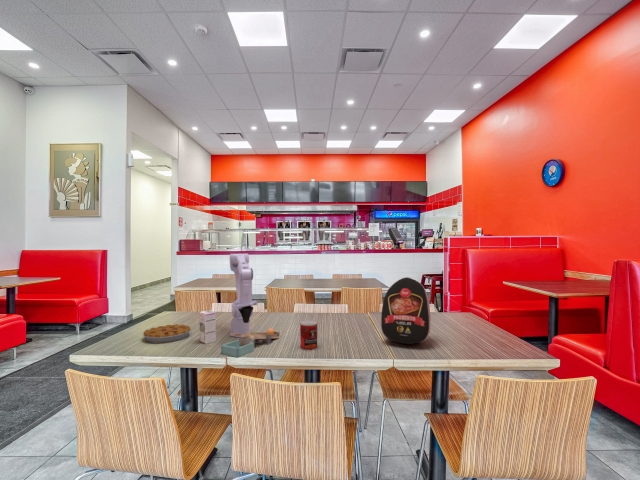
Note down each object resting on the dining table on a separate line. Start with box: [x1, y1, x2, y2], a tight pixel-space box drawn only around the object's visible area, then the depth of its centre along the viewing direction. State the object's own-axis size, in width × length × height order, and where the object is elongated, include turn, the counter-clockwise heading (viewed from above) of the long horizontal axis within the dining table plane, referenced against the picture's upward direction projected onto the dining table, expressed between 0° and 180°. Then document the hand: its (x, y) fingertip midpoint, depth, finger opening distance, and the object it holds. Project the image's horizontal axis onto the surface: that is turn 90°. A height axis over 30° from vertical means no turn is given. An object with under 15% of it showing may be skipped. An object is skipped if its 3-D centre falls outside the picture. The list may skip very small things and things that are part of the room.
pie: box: [142, 323, 192, 344], centre depth 162 cm, size 22×22×5 cm
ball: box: [266, 327, 275, 334], centre depth 157 cm, size 4×4×4 cm
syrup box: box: [199, 309, 217, 345], centre depth 154 cm, size 6×6×14 cm
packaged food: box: [380, 276, 431, 345], centre depth 150 cm, size 22×20×30 cm
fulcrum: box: [252, 336, 273, 346], centre depth 152 cm, size 9×4×3 cm, turn 59°
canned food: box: [299, 320, 318, 351], centre depth 145 cm, size 8×8×11 cm
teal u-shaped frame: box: [220, 339, 255, 358], centre depth 138 cm, size 10×10×4 cm
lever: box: [232, 330, 281, 340], centre depth 154 cm, size 14×18×3 cm
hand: (246, 322), depth 152 cm, fingers closed
